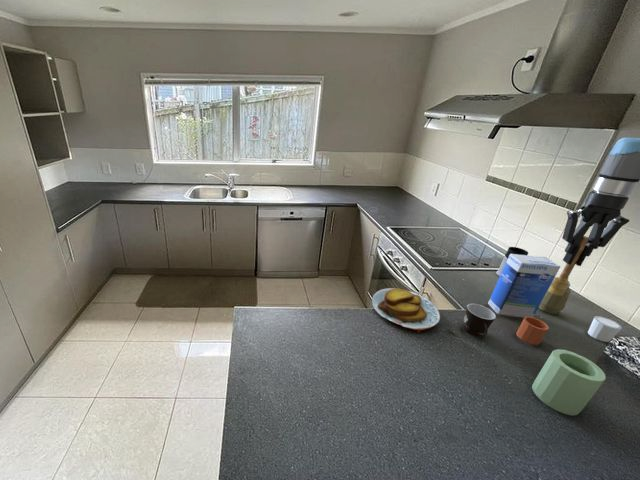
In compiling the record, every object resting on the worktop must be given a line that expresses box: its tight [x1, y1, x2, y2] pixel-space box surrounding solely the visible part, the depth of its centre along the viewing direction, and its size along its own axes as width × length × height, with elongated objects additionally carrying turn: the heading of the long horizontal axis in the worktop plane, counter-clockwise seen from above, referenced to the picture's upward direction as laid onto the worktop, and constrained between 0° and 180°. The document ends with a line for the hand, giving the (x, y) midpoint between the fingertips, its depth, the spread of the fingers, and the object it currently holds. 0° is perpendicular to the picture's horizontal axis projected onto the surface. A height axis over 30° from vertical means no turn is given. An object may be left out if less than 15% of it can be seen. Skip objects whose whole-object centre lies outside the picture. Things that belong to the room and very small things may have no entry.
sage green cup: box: [531, 348, 607, 416], centre depth 80 cm, size 10×10×14 cm
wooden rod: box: [548, 235, 590, 296], centre depth 91 cm, size 4×4×21 cm
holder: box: [495, 246, 529, 277], centre depth 139 cm, size 9×14×15 cm, turn 167°
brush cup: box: [515, 316, 550, 346], centre depth 103 cm, size 7×7×8 cm
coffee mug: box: [461, 303, 497, 338], centre depth 104 cm, size 12×9×10 cm
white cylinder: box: [587, 315, 623, 343], centre depth 106 cm, size 7×7×7 cm
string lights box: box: [487, 254, 561, 319], centre depth 113 cm, size 13×8×26 cm, turn 80°
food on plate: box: [371, 287, 441, 334], centre depth 115 cm, size 25×25×7 cm
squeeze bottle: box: [538, 277, 571, 315], centre depth 117 cm, size 8×8×18 cm
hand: (571, 262), depth 90 cm, fingers closed on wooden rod, 2 cm apart
